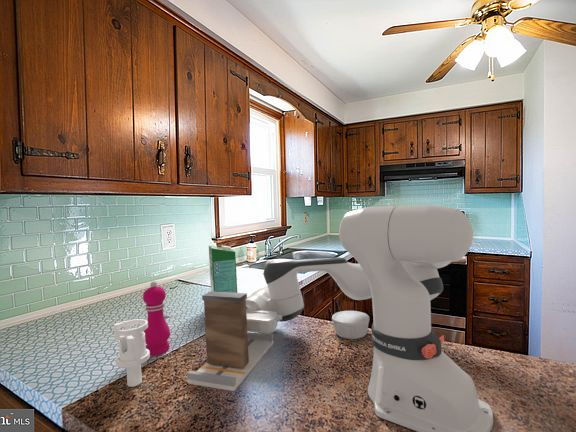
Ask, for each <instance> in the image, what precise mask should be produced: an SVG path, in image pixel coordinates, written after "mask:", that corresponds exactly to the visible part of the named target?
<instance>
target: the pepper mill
mask: <svg viewBox="0 0 576 432" xmlns="http://www.w3.org/2000/svg"><path fill="white" fill-rule="evenodd" d="M157 282H158V281H152V282H150V287H148V288H146V289H145V290H144V292H143V295H142V300H143V302H144V303H145V304H146V305H145V311H146V312H147V319H146V320H147V321H148V328H147V329H146V330H144V331H143V332H144V333H145V343H146V349H148V350H149V351H150V356H158V355H162V354H164V353H166V352H167V351H169V350H170V341H169V339H170V337H171V330H170V327H169V325H168V324H169V323H167V321H166V318H165V315H164V309H165V302H164V300H165V299H166V297H167V293H166V290H165V289H164V288H163V287H162V286H158V283H157Z"/></svg>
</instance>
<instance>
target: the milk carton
mask: <svg viewBox="0 0 576 432" xmlns="http://www.w3.org/2000/svg"><path fill="white" fill-rule="evenodd" d="M236 256H237V255H236V251H235V250H233V249H232V246H229V245H221V247H220V246H213V245H208V257H209V258H208V259H209V275H210V276H209V278H210V279H209V281H210V291H212V292H230V293H238V278H237V261H236V260H237V259H236V258H237V257H236Z"/></svg>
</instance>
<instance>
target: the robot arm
mask: <svg viewBox="0 0 576 432" xmlns="http://www.w3.org/2000/svg"><path fill="white" fill-rule="evenodd" d="M473 233H474V231H473V228H472V225H471V222H470V220H469V219H468V217H467V216H466V214H464V212H462V210H460V209H459V208H453V207H449V206H448V207H447V206H441V205H431V204H430V205H429V204H428V205H427V204H426V205H425V204H424V205H422V204H421V205H389V206H388V205H387V206H382V205H381V206H367V207H366V206H365V207H361V208H357V209H354V210H350V211H348V212H346V213H345V214H344V216H343V217H342V219H341V221H340V223H339V228H338V237H339V240H340V243H341V246H342V247H343V248H344V250H345V251H346V252H347V253H349V254H350V255H351V256H352V257H353V258H354V259H355V260H356V262H357V263H352V262H349V261H348V260H346V259H345V258H344V257H340V256H338V257H337V256H335V257H333V256H329V257H328V256H327V257H311V258H297V259H296V258H294V259H293V258H292V259H287V258H277V259H274V260H271V261H269V262H267V264H266V266H265V268H264V270H263V273H262V275H263V277H264V281H265V284H266V285H267V286H265V287H264V286H263V287H262V288H259V289H258V290H256V291H254V292H253V293H251V295H247V299H246V314H247V332H251V333H261V334H272V333H274V332H275V331H276V329H277V327H278V322H280V323H282V322H287V321H291V320H293V319H296V317H298V316H299V315H300V314H301V313H302V311H303V310H304V307H305V304H304V299H303V294H302V291H301V289H300V284H299V279H298V274H299V273H309V272H310V273H312V272H325V273H327V274H329V276H330V277H332V279H333V280H334V281H335V283H336V284H337V286H338V287H339V289H340V290H341V291H342V293H344V295H346V296H347V297H348V298H349V299H352V300H356V301H362V300H368V299H369V300H370V299H371V302H372V303H371V304H372V305H371V306H372V316H373V319H372V320H373V322H372V325H371V344H372V348H373V352H372V353H373V357H372V367H371V373H370V379H369V382H368V386H367V394H368V396H369V398H370V400H371V401H372V404H373V405H374V413H375V415H376V417H378V418H381V419H383V420H385V421H389V422H391V423H394V424H397V425H400V426H402V427H404V428H407V429H409V430H413V431H415V432H491V431H492V429H493V426H494V414H493V410H492V408H491V406H490V405H489V404H488V403H487V402H485V401H483V400H481V399H480V398H479V397H478V392H477V388H476V385H475V383H474V380H473V378H472V377H471V376H470V375H469V374H468V373H467V372H466V371H464V370H463V369H462V368H461V367H460V366H459V365H458V364H456V362H455V361H454V360H452V358H450V357H449V356H448V354H446V353H445V352H444V351H443V350H442V344H443V343H444V342H445V335H440V337H438V336H437V335H436V333H435V331H434V330H433V328H432V311H431V308H432V306H431V301H432V300H435V298H437V297H438V296H439V295H441V294H442V292H443V291H444V285H443V281H442V280H443V279H442V277H440V275H439V271H438V269H441V268H444V267H446V266H448V265H450V264H451V263H452V262H459V261H460V260H462V259H463V258H464V257H465V256H466V255H467V253H468V252H469V251H470V249H471V246H472V243H473V237H474V236H473Z"/></svg>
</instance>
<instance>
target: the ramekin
mask: <svg viewBox="0 0 576 432" xmlns="http://www.w3.org/2000/svg"><path fill="white" fill-rule="evenodd" d="M331 320H332V323H333V328H334V332H335V334H336V335H337V336H338V337H340V338H343V339H346V340H347V339H348V340H358V339H362V338H363V337H365V336H366V335H367V333H368V332H369V331H368V330H369V323H370V316H369V315H368V314H367V313H366V312H362V311H357V310H341V311H338V312H335V313H334V314H332V317H331Z"/></svg>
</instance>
